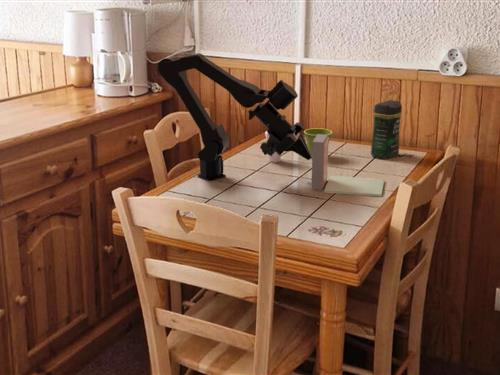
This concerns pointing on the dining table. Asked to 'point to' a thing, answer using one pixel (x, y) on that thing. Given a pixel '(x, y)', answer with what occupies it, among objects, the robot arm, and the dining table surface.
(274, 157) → the smoothie
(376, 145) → the coffee jar
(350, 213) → the dining table surface
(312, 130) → the plant pot
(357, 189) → the pad
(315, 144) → the slate tile
